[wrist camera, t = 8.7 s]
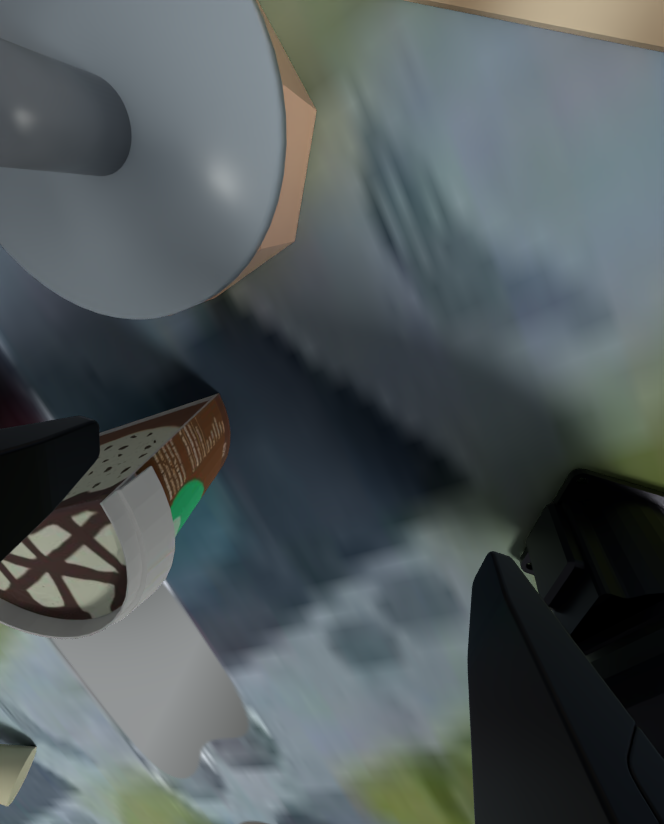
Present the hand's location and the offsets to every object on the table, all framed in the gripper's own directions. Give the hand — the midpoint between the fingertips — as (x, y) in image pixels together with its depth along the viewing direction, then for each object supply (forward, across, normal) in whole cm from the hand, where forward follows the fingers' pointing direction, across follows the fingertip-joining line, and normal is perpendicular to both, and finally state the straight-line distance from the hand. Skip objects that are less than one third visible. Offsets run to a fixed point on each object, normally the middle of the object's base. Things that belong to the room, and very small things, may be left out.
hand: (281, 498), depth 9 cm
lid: (+8, +10, -6) cm, 14 cm away
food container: (+12, +9, +10) cm, 18 cm away
